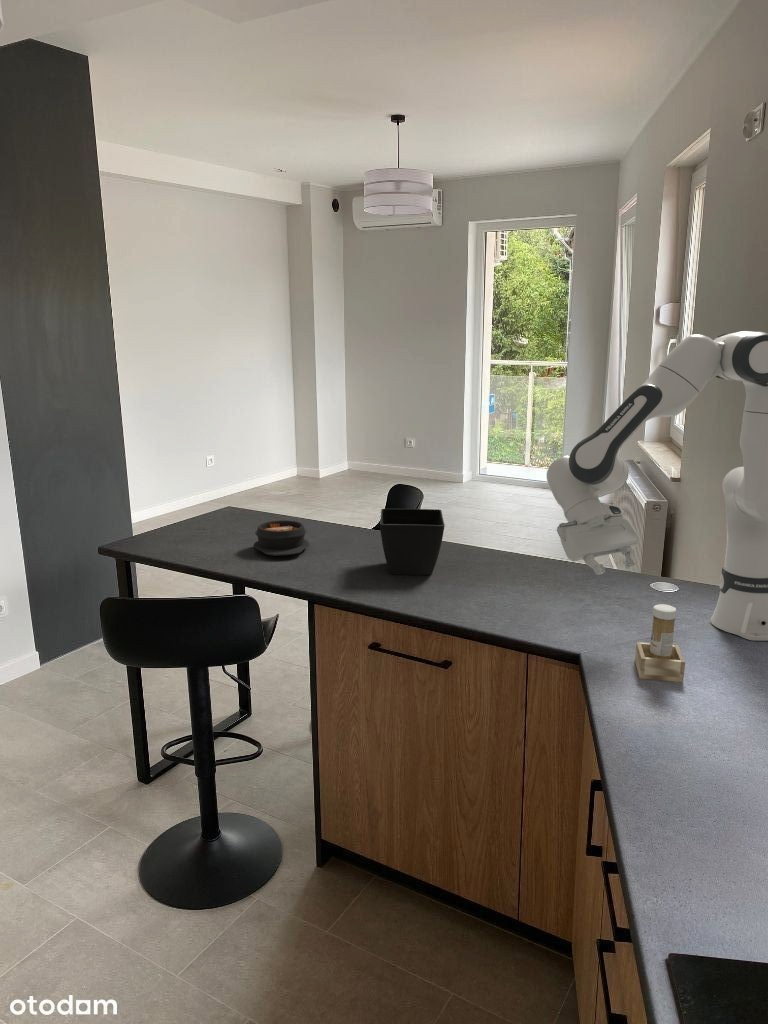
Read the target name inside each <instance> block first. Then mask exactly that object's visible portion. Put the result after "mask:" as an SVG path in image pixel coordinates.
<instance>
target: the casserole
mask: <svg viewBox="0 0 768 1024" xmlns="http://www.w3.org/2000/svg"><path fill="white" fill-rule="evenodd" d="M307 532H308V531H307V529H306V528H305V526H304V524H303V523H302V522H299V521H294V520H272V521H267V522H263V523H260V524H259V525H258V526H257V530H255V535H256V536H257V541H256V542H254V543H253V546H252V547H253V548H254V549H255V550H257V551H260V552H262V553H263V554H265V555H267V556H277V557H280V556H282V557H283V556H292V555H297V554H301V553H302V552H303V551H304V550H305V549H306V548H308V547H309V546H310V541H309V540H307V539H305V535H306V534H307Z"/></svg>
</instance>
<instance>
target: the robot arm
mask: <svg viewBox="0 0 768 1024" xmlns="http://www.w3.org/2000/svg"><path fill="white" fill-rule="evenodd" d="M714 378H717V379H722V380H728V381H732V382H742V384H743V386H744V389H745V395H746V396H745V402H744V408H743V412H742V413H743V415H742V422H741V429H740V438H739V447H740V450H741V454H742V463H743V466H738V467H735V468H733V469H731V470H730V471H728V473H727V474H725V476H724V478H723V480H722V483H721V484H722V486H721V488H722V493H723V497H724V504H725V505H724V506H725V520H726V522H725V523H726V546H725V547H726V548H725V557H724V563H723V564H724V566H723V567H722V568H721V573H720V577H719V590H720V591H719V595H718V600H717V603H716V606H715V609H714V611H713V614H712V616H711V618H710V623H711V624H712V625H713V626H714V627H715V628H717V629H720V630H722V631H724V632H726V633H729V634H734V635H736V636H739V637H742V638H743V639H746V640H749V641H760V642H761V641H762V642H763V641H764V642H766V641H768V332H764V331H753V330H751V331H750V330H742V331H737V332H726V333H722V334H719V335H717V336H716V337H713V338H711V337H709V336H706V335H704V334H697V333H695V334H691V335H688V336H686V337H685V338H684V339H683V340H682V341H680V342H679V344H677V345H676V346H675V347H674V348H672V349H671V351H670V352H669V353H668V354H667V355H666V356H665V357H664V358H663V359H662V361H661V362H660V363H659V364H658V365H657V367H656V368H655V369H654V370H653V371H652V373H651V374H650V375H649V376H648V378H646V380H645V381H644V382H643V383H642V384H641V385H640V386H639V387H638V388H636V389H635V391H633V392H632V393H631V394H630V395H629V396H628V397H627V398H626V399H625V400H624V401H623V402H622V403H621V404H620V405H619V406H618V408H616V409H615V411H614V412H613V413H612V414H611V415H610V416H609V417H608V419H606V420H605V422H603V424H602V425H601V426H600V427H599V428H598V429H597V430H596V431H595V432H593V433H592V434H590V435H588V437H585V438H584V439H582V440H581V441H579V442H577V444H576V445H575V446H574V447H573V448H572V450H571V452H570V455H563V456H561V457H558V458H557V459H556V460H554V461H553V462H552V463H551V464H550V466H549V467H548V468H547V471H546V481H547V484H548V487H549V489H550V492H551V494H552V495H553V497H554V499H555V501H556V503H557V504H558V506H560V507H561V509H562V511H563V516H564V517H565V520H566V521H567V522H561V523H559V525H558V526H557V527H556V532H557V534H558V537H559V539H560V543H561V546H562V548H563V551H564V553H565V555H566V557H567V559H569V560H570V561H571V562H579V561H584V563H585V564H586V565H587V566H588V567H590V568H591V569H593V571H594V573H595V575H597V576H598V575H599V576H600V575H603V574H604V573H605V572H606V568H605V567H604V564H603V563H601V564H600V563H599V562H598V561H597V560H596V559H595V558H597V557H603V556H608V555H613V554H617V553H621V555H622V556H624V557H625V558H624V559H625V561H624V562H623V564H624V566H625V568H627V569H630V568H634V567H635V566H636V561H635V559H634V549H635V548H637V546H639V545H640V542H641V537H640V535H639V534H638V532H637V530H636V528H635V527H634V525H633V523H632V522H631V521H630V519H629V518H627V517H626V516H624V515H625V511H624V509H623V507H621V506H617V505H612V504H608V503H605V502H601V500H600V498H602V497H605V496H608V495H610V494H612V493H615V492H617V491H618V490H620V489H621V488H622V487H624V485H625V484H626V482H627V480H628V479H629V467H628V464H627V463H626V461H625V459H623V457H621V455H619V451H620V449H621V448H622V447H623V446H624V445H625V444H626V442H628V440H630V438H631V437H632V436H633V435H634V434H635V433H636V432H637V430H638V429H639V428H641V426H642V425H643V424H644V423H646V422H647V421H649V420H652V419H654V418H671V417H675V416H679V414H681V413H682V412H683V411H684V410H686V409H687V408H688V407H689V406H690V405H691V404H692V403H693V401H694V400H695V399H696V398H697V397H698V395H699V394H700V393H702V391H703V389H704V388H705V386H706V385H707V384H708V383H709V382H710V381H711V380H712V379H714Z"/></svg>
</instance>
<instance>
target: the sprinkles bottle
mask: <svg viewBox="0 0 768 1024" xmlns="http://www.w3.org/2000/svg"><path fill="white" fill-rule="evenodd" d="M652 617H653V618H652V619H653V620H652V627H651V628H652V629H651V636H650V642H649V643H650V656H649V658H660V659H671V653H672V645H674V644H673V642H674V634H675V633H674V632H675V630H674V629H675V620H676V618H677V608H676V607H674V606H672V605H670V604H666V603H665V604H663V603H660V604H656V605H654V606H653V608H652Z"/></svg>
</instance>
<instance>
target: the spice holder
mask: <svg viewBox="0 0 768 1024" xmlns="http://www.w3.org/2000/svg"><path fill="white" fill-rule="evenodd" d="M650 643H651V642H640V641H636V645H635V652H634V653H635V655H634V663H635V666H636V667H635V668H636V670H637V674H638V678H639V679H643V680H654V681H666V682H674V683H675V682H676V683H684V678H685V669H686V660H685V658H684V655H683V654H682V651H681V648H680V647H679V645H678V644H672V653H671V659H660V658H649V656H650Z"/></svg>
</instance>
